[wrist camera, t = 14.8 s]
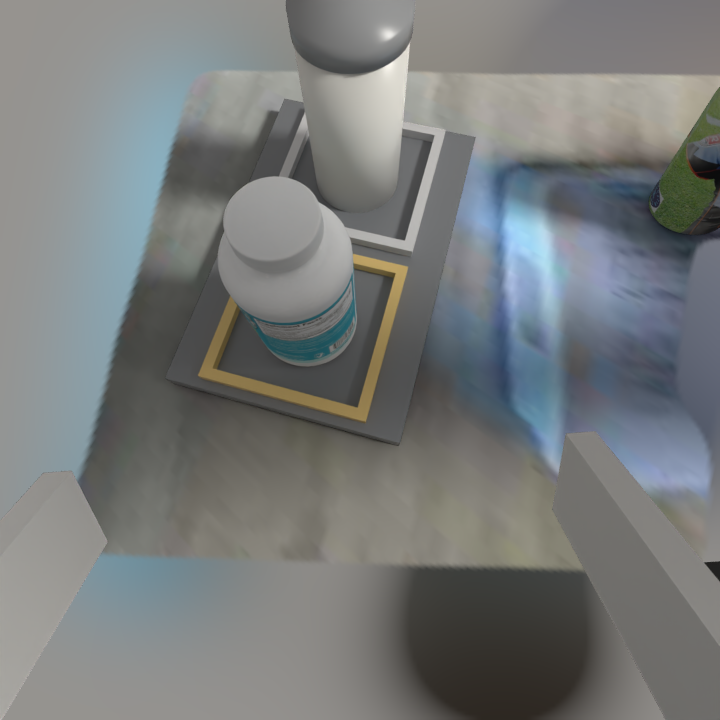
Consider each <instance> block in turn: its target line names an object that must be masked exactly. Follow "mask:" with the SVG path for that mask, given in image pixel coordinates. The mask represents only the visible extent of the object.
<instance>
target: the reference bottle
mask: <svg viewBox="0 0 720 720" xmlns="http://www.w3.org/2000/svg"><path fill="white" fill-rule="evenodd" d="M286 11H287V17H288V23H289V28H290V34H291V39H292V43H293V45H294V48H295V54H296V59H297V66H298V72H299V78H300V84H301V90H302V96H303V102H304V108H305V114H306V120H307V126H308V132H309V138H310V144H311V150H312V156H313V162H314V168H315V174H316V180H317V185H318V189H319V192H320V194H321V195H322V197H323V198H324V199H325V200H326V201H327V202H328V203H329V204H330V205H331V206H333V207H335V208H337V209H339V210H342V211H345V212H351V213H362V212H368V211H371V210H374V209H376V208H379V207H380V206H382V205H383V204H385V203H386V202H387V201H388V200H389V199H390V198H391V197H392V195H393V194H394V192H395V190H396V187H397V183H398V172H399V161H400V150H401V139H402V127H403V116H404V105H405V93H406V82H407V71H408V60H409V48H410V40H411V38H412V33H413V23H414V12H415V0H286Z"/></svg>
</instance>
